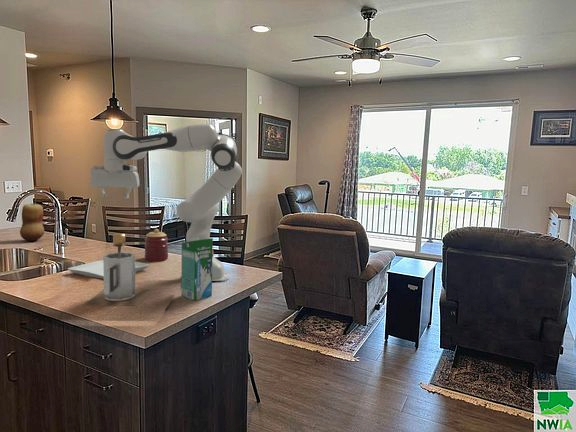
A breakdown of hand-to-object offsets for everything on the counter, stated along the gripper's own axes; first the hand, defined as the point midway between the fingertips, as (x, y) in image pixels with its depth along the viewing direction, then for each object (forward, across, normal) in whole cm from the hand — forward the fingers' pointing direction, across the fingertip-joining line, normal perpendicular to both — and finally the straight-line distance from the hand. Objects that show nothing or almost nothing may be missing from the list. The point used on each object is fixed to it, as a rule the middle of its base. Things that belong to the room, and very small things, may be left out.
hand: (115, 197), depth 175 cm
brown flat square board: (+39, +9, -25) cm, 47 cm away
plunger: (+36, +9, -25) cm, 45 cm away
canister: (+39, +6, +46) cm, 61 cm away
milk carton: (+40, +38, -18) cm, 58 cm away
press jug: (+38, +9, -26) cm, 47 cm away
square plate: (+39, -9, +16) cm, 44 cm away
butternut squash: (+38, -86, +90) cm, 130 cm away
